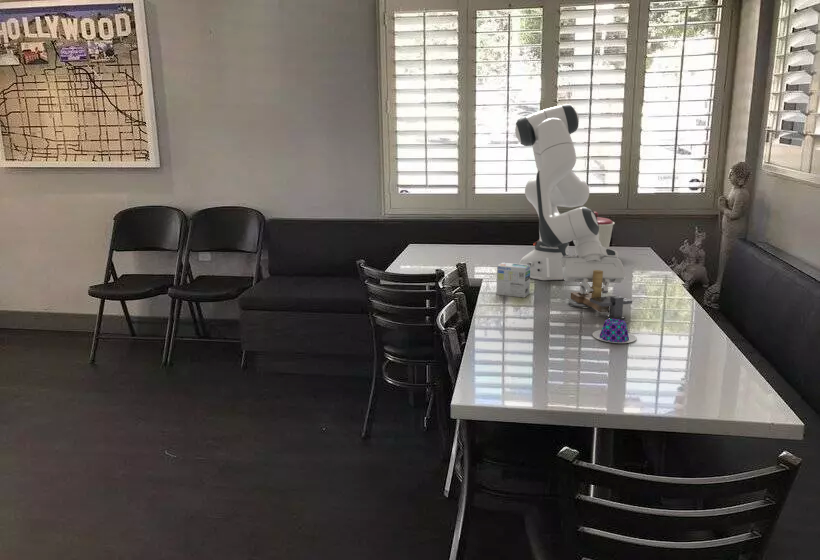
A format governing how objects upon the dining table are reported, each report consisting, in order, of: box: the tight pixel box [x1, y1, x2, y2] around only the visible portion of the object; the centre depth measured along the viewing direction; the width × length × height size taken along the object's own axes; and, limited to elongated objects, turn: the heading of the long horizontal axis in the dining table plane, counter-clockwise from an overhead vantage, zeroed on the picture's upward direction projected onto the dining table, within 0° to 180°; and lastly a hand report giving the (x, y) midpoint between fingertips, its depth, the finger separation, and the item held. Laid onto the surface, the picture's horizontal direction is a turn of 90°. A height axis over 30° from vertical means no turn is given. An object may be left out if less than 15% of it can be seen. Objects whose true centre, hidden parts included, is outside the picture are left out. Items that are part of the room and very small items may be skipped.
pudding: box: [592, 318, 637, 344], centre depth 187 cm, size 12×12×5 cm
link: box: [569, 270, 610, 313], centre depth 215 cm, size 18×6×12 cm, turn 13°
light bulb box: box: [495, 262, 531, 298], centre depth 234 cm, size 11×7×11 cm, turn 65°
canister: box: [593, 211, 616, 249], centre depth 298 cm, size 18×18×21 cm
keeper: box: [590, 294, 633, 321], centre depth 207 cm, size 8×11×7 cm
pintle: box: [568, 282, 590, 308], centre depth 221 cm, size 9×9×7 cm
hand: (598, 292), depth 211 cm, fingers open, 4 cm apart
